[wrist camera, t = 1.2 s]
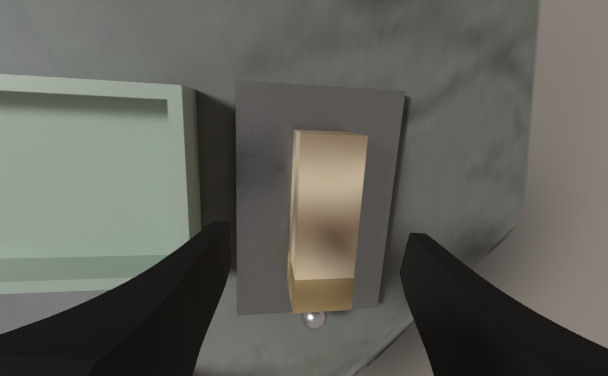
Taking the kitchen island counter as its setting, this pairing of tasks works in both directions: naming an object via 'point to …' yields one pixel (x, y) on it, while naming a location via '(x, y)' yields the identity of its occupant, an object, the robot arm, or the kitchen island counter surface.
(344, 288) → the tan long block
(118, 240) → the bin
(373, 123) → the mount
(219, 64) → the kitchen island counter surface
